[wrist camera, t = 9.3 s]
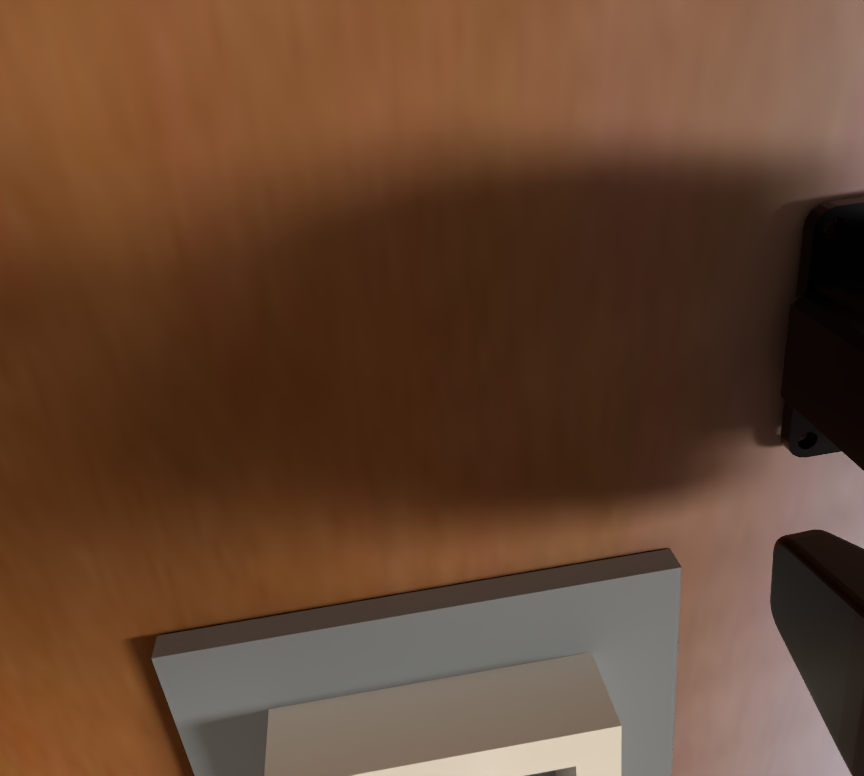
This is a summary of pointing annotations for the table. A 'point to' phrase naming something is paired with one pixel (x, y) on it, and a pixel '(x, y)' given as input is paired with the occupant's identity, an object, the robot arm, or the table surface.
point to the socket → (442, 680)
